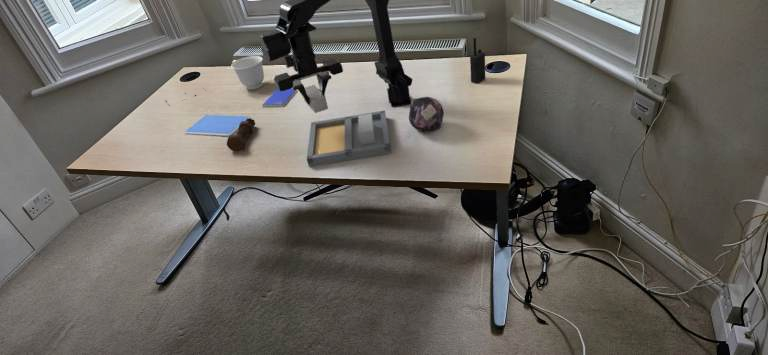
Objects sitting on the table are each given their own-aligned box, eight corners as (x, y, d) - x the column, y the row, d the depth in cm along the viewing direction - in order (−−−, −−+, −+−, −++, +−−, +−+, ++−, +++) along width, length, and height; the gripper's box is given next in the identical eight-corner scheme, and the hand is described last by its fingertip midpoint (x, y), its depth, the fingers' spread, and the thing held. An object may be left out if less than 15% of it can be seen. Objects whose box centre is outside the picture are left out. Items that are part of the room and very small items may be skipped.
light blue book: (184, 135, 157) (182, 132, 156) (206, 116, 166) (205, 113, 166) (231, 138, 150) (229, 134, 150) (252, 119, 160) (251, 115, 159)
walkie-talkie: (478, 77, 160) (477, 33, 151) (486, 79, 157) (486, 35, 149) (469, 82, 157) (467, 38, 149) (477, 84, 155) (476, 40, 146)
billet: (317, 96, 141) (314, 84, 139) (328, 108, 134) (325, 96, 131) (304, 100, 140) (301, 88, 138) (315, 113, 133) (311, 100, 130)
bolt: (256, 131, 155) (241, 155, 142) (241, 126, 154) (225, 149, 142) (260, 117, 152) (245, 140, 139) (245, 111, 151) (228, 133, 138)
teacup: (251, 77, 190) (243, 53, 184) (276, 82, 182) (269, 57, 176) (228, 89, 183) (219, 65, 177) (253, 95, 175) (245, 70, 169)
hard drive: (282, 103, 162) (296, 88, 172) (261, 104, 165) (276, 88, 174) (284, 107, 163) (297, 92, 173) (263, 108, 165) (277, 92, 175)
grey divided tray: (385, 117, 145) (383, 103, 143) (391, 153, 128) (388, 137, 125) (313, 129, 146) (309, 115, 143) (308, 166, 129) (304, 151, 126)
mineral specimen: (403, 133, 132) (403, 97, 130) (415, 129, 142) (415, 95, 139) (437, 134, 129) (437, 98, 126) (447, 130, 138) (447, 95, 136)
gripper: (324, 33, 136) (335, 83, 145) (262, 51, 131) (278, 101, 140) (338, 43, 128) (348, 95, 136) (272, 63, 122) (287, 115, 131)
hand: (315, 101), depth 136 cm, fingers closed on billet, 4 cm apart
